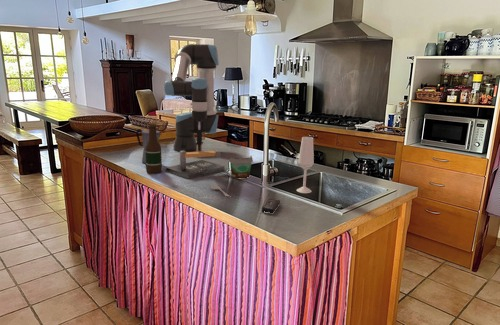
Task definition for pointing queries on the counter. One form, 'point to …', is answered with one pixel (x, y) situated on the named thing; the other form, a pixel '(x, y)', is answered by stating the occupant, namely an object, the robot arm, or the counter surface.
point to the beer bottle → (153, 152)
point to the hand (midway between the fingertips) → (199, 156)
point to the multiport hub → (270, 205)
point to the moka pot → (145, 140)
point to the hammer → (196, 154)
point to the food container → (240, 167)
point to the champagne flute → (306, 160)
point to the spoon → (218, 188)
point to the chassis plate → (195, 169)
